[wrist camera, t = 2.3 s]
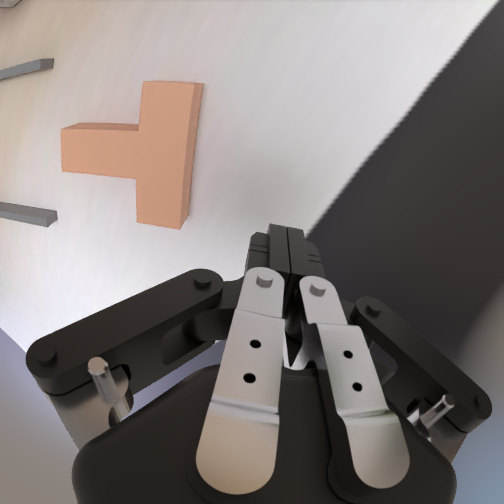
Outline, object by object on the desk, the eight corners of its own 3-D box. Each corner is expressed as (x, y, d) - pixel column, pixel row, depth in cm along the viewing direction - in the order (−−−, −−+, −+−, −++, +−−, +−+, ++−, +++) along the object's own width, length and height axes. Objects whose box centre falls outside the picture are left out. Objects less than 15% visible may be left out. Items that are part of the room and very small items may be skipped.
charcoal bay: (-24, 80, 17) (-35, 83, 15) (53, 58, 18) (40, 59, 16) (-15, 205, 27) (-24, 212, 25) (57, 218, 27) (47, 227, 26)
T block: (81, 83, 20) (62, 85, 17) (203, 83, 20) (194, 83, 18) (81, 198, 26) (65, 210, 24) (188, 214, 27) (179, 229, 24)
